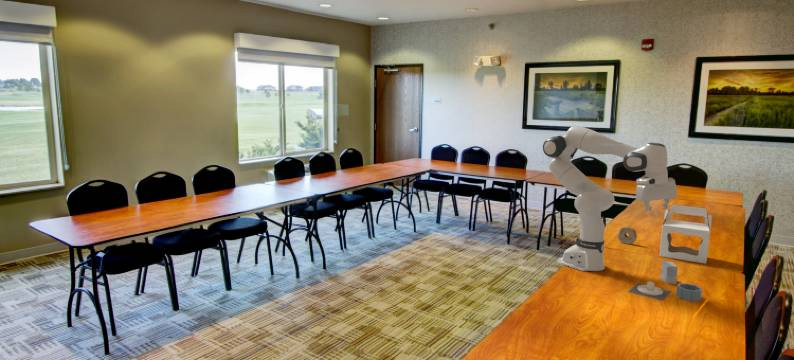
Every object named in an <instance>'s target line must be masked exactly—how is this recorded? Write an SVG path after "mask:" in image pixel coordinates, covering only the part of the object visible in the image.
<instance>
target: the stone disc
mask: <svg viewBox="0 0 794 360" xmlns="http://www.w3.org/2000/svg"><path fill="white" fill-rule="evenodd" d="M627 234H628V235H627ZM637 236H638V235H637V231H636V229H635V228H633V227H630V226H623V227H620V229H619V231H618V234H617V239H618V240H619V241H620V243H623V244H626V245H632V244H634V243H635V242H636V241H637V238H638V237H637Z"/></svg>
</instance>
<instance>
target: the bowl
mask: <svg viewBox="0 0 794 360" xmlns="http://www.w3.org/2000/svg"><path fill="white" fill-rule="evenodd" d="M675 296H676V297H677V298H679V299H680V300H685V301H688V302H700V301H701V300H702V297H703V288H702V287H701V286H699V285H696V284H693V283H686V282H685V283H683V282H682V283H678V284H676V292H675Z"/></svg>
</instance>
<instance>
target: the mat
mask: <svg viewBox="0 0 794 360" xmlns="http://www.w3.org/2000/svg"><path fill="white" fill-rule="evenodd" d="M640 285H644V283H643V284H642V283H636V284H635V285H634V286H633V287H632V288H630V289H629V290H628V291H627V292H628V293H631V294H635V295H640V296H643V297H647V298H650V299H655V300H657V301H658V300H660V301H664V299H666V298H667V297H668V296H669V295H670V294H671V293H672V290H669V289H663V288H660V289H661V290H663V294H662V295H660V296H651V295H646V294H643V293H640V292H639V291H638V290H637V287H638V286H640Z"/></svg>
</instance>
